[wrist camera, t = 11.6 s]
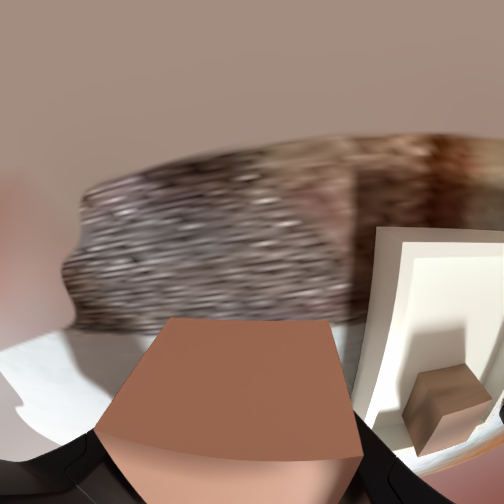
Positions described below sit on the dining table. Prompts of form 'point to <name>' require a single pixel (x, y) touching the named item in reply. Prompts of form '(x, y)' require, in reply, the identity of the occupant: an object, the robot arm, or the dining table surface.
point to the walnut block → (444, 408)
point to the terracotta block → (235, 416)
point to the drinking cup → (502, 414)
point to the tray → (429, 320)
